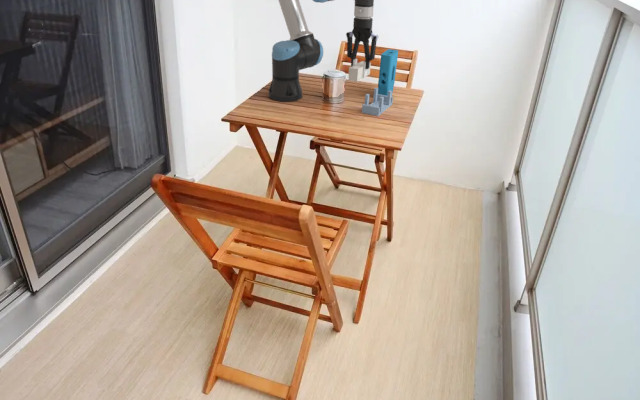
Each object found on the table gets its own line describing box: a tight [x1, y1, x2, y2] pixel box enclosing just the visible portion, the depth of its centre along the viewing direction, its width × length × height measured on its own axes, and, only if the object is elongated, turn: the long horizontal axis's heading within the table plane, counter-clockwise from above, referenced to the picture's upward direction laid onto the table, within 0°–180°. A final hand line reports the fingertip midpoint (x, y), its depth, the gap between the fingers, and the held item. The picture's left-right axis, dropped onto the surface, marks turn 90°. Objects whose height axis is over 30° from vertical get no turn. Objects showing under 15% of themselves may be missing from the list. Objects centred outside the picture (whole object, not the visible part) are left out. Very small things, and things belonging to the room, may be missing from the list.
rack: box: [361, 87, 394, 117], centre depth 207 cm, size 17×8×7 cm, turn 153°
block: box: [377, 48, 399, 96], centre depth 218 cm, size 12×5×20 cm, turn 158°
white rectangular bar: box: [348, 60, 372, 82], centre depth 203 cm, size 14×4×5 cm, turn 152°
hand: (359, 75), depth 204 cm, fingers closed on white rectangular bar, 4 cm apart
